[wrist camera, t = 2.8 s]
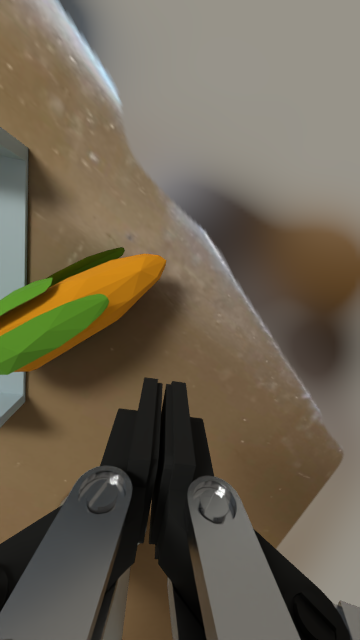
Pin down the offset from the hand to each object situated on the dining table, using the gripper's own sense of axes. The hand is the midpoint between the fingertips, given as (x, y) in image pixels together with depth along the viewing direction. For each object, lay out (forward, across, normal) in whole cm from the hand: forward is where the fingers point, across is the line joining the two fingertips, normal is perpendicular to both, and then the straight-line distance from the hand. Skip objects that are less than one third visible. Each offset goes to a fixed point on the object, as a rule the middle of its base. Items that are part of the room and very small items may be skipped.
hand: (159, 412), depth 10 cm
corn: (+18, +9, 0) cm, 20 cm away
